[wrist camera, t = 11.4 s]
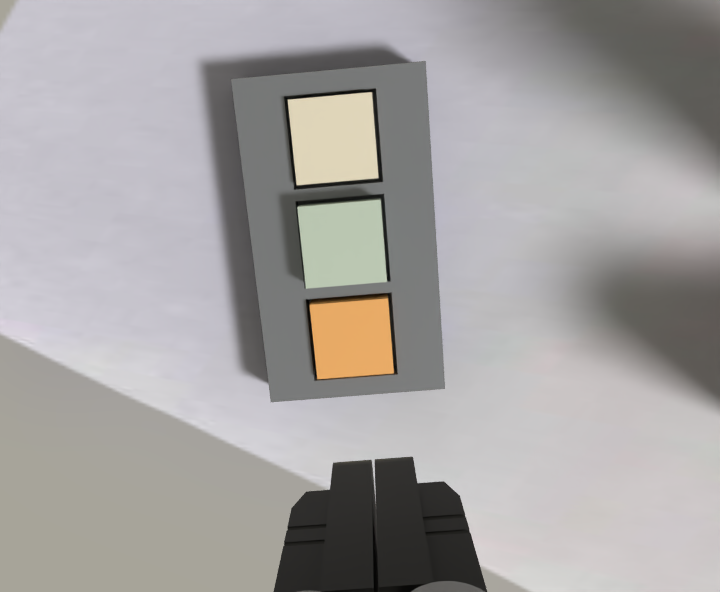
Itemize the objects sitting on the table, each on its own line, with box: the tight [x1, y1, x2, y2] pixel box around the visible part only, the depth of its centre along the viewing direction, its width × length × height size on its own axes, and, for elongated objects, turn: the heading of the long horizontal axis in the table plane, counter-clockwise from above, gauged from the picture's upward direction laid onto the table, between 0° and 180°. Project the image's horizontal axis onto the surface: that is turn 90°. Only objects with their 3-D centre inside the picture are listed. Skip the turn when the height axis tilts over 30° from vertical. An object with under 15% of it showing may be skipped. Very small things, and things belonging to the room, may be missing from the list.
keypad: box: [231, 61, 445, 402], centre depth 44 cm, size 23×13×3 cm, turn 5°
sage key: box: [297, 198, 387, 289], centre depth 42 cm, size 6×6×2 cm
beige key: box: [288, 92, 379, 185], centre depth 41 cm, size 6×6×2 cm
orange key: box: [310, 293, 394, 379], centre depth 44 cm, size 6×6×2 cm
